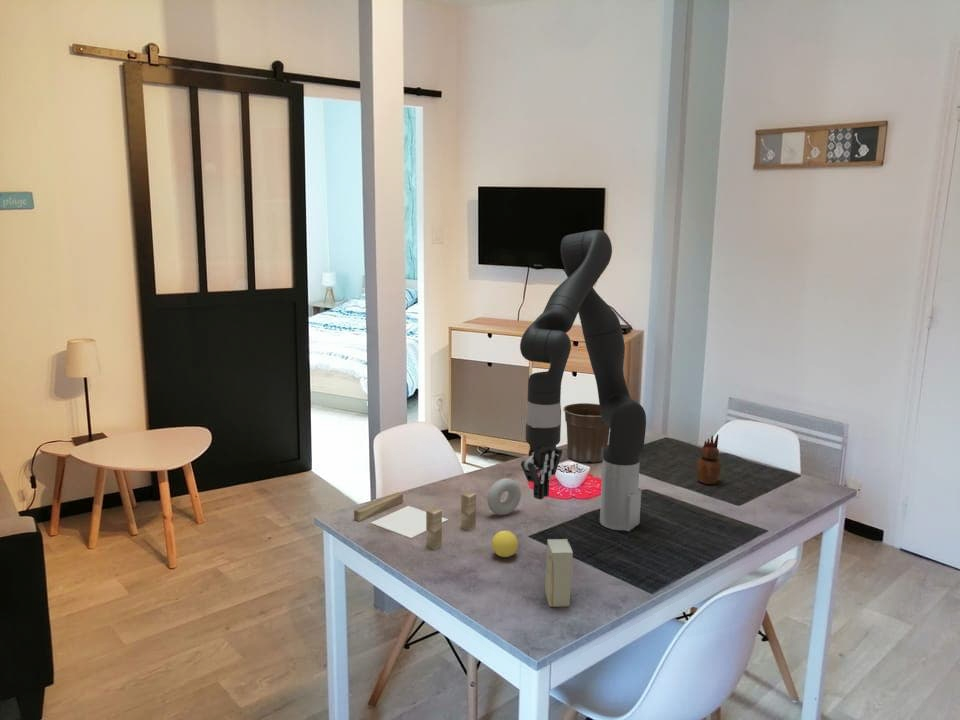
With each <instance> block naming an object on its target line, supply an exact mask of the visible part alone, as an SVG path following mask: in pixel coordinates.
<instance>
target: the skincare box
mask: <svg viewBox="0 0 960 720" xmlns="http://www.w3.org/2000/svg"><path fill="white" fill-rule="evenodd" d="M546 544H547V545H546V547H547V548H546V559H545V560H546V561H545V563H546V565H545V576H544V577H545V579H544V580H545V582H544V593H545V598H546V601H547V603H548V607H550V608H553V607H561V608H562V607H570V602H571V589H572V588H571V587H572V572H573V556H574V554H573V553H574V552H573V549H572V546H571V544H570V542H569V541H568V538H562V539H561V538H548V539H547V542H546Z"/></svg>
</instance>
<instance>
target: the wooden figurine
mask: <svg viewBox="0 0 960 720" xmlns="http://www.w3.org/2000/svg"><path fill="white" fill-rule="evenodd" d="M718 444H719V434H716V437H715V440H714V435H711V437H710V438H707V441H706V440H704V443H703V446H702V448H700V455H701V457H699V459H697V462H696V471H695V472H696V477H697V479H698V481H699V482H700V483H703V484H705V485H714V484H716V483H717V482H718V481H719V478H720V475H721V470H722V464H721V462H720V460H719V459H718V457H719V454H720V452H719V451H720V450H719V448H718Z"/></svg>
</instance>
